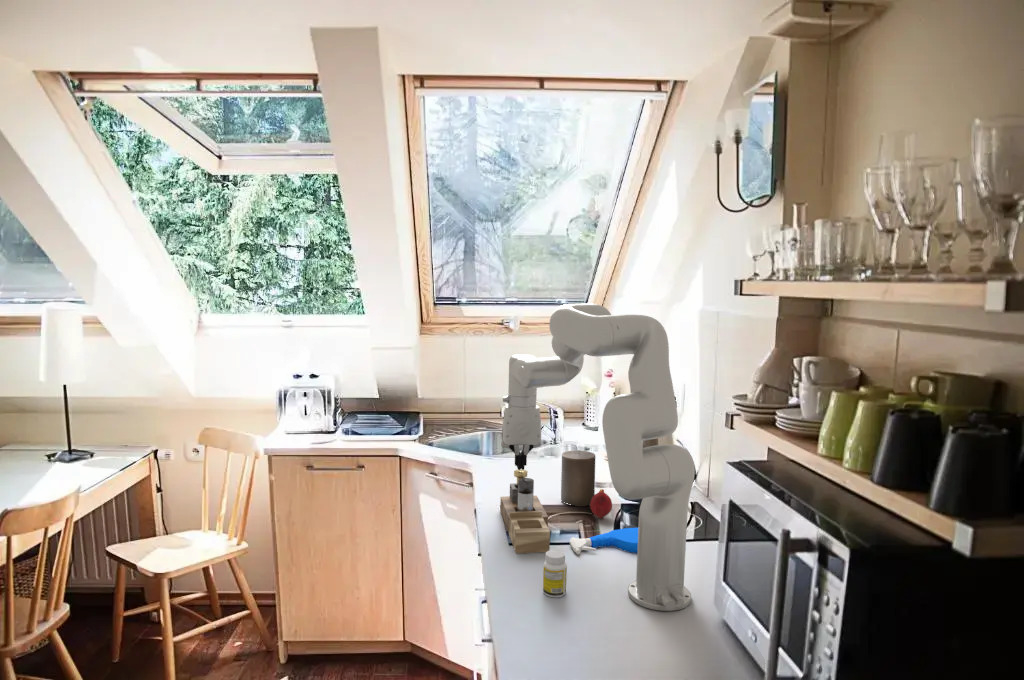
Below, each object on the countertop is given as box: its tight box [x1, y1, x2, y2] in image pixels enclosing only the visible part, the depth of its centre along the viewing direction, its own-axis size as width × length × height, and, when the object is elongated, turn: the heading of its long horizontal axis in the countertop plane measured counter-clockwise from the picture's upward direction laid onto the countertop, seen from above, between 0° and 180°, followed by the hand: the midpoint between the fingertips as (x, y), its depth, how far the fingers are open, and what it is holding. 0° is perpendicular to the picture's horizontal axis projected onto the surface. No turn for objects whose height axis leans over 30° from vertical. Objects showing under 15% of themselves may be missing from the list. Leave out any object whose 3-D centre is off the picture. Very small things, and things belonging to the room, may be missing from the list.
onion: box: [589, 488, 613, 519], centre depth 184 cm, size 6×6×8 cm
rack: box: [508, 511, 551, 554], centre depth 167 cm, size 11×8×6 cm
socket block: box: [499, 482, 549, 534], centre depth 181 cm, size 16×10×8 cm, turn 8°
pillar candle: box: [560, 449, 596, 507], centre depth 197 cm, size 10×10×15 cm
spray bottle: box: [569, 527, 638, 555], centre depth 167 cm, size 3×11×24 cm
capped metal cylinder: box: [518, 477, 535, 511], centre depth 178 cm, size 4×4×12 cm
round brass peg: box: [513, 469, 528, 487], centre depth 186 cm, size 4×4×4 cm
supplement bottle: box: [542, 549, 568, 599], centre depth 142 cm, size 5×5×8 cm
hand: (520, 468), depth 186 cm, fingers closed
